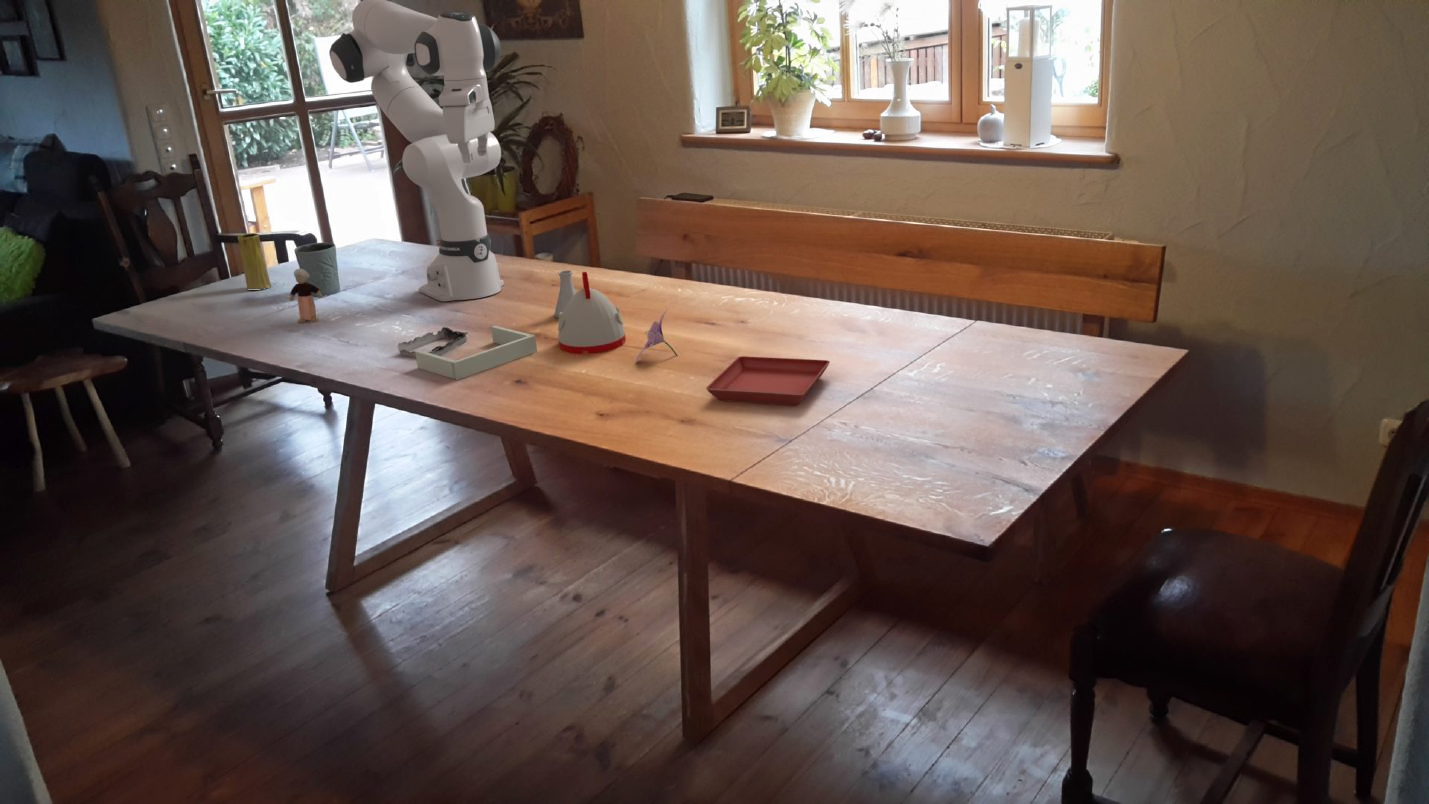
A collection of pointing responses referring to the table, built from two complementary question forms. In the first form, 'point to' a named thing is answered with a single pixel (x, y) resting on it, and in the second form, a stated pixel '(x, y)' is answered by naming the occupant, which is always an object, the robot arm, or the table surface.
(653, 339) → the lily
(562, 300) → the flask
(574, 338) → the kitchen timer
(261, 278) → the vase
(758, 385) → the plant saucer
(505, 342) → the frame
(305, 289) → the grandmother figurine
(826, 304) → the table surface
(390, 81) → the robot arm
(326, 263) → the green plant pot
